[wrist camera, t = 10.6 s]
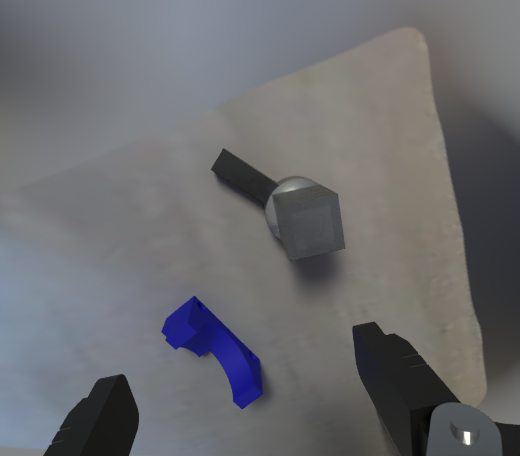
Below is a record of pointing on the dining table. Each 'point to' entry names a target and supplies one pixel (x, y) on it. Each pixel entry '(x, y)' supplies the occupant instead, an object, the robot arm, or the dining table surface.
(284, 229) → the grey paneled cube
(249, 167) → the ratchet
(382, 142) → the dining table surface
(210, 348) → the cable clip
